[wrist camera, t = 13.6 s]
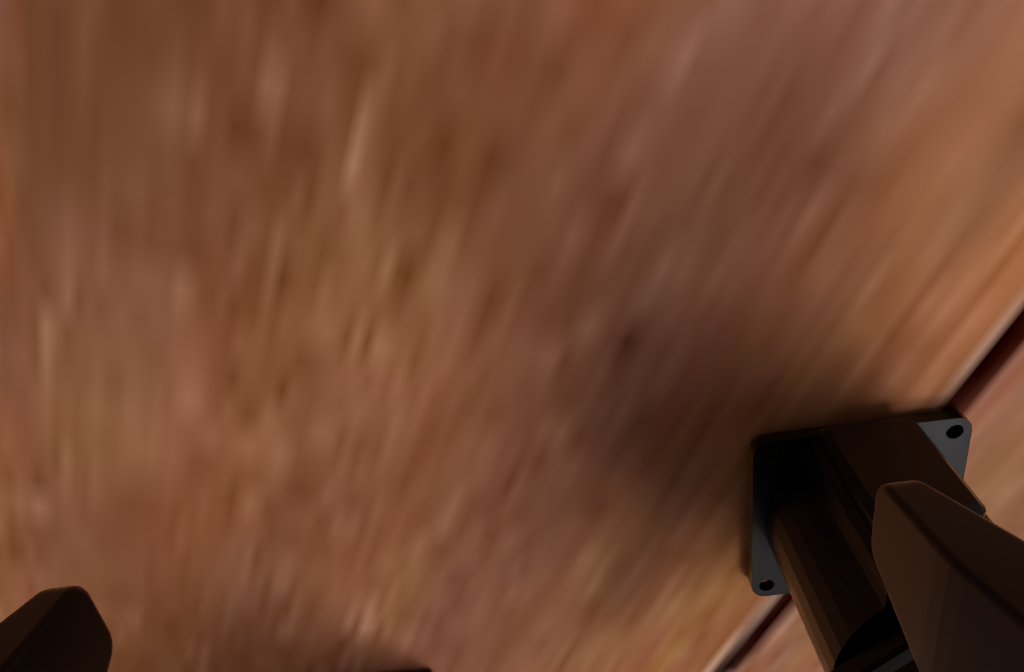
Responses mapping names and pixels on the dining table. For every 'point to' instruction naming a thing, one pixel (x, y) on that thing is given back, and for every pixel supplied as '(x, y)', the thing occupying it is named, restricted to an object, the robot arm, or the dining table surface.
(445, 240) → the dining table surface
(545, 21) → the dining table surface
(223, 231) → the dining table surface
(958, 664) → the robot arm
